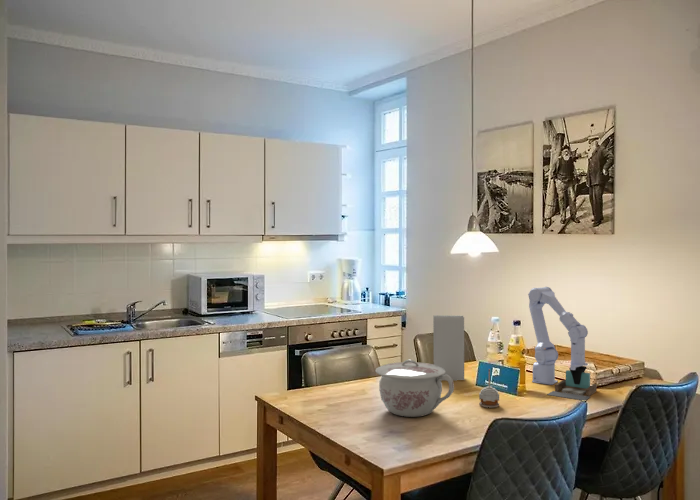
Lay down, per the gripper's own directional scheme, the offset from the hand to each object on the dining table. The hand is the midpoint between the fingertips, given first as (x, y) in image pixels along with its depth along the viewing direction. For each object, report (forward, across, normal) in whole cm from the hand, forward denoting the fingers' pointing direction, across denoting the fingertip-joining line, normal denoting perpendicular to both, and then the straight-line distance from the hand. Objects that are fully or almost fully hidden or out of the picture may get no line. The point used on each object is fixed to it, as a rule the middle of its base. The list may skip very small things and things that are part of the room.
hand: (577, 383), depth 275 cm
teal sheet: (+3, 0, 0) cm, 3 cm away
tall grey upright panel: (+3, -14, +56) cm, 58 cm away
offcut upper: (+3, -5, 0) cm, 6 cm away
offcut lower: (+4, -5, 0) cm, 6 cm away
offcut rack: (+3, -2, 0) cm, 4 cm away
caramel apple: (+3, -46, +21) cm, 50 cm away
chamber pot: (+3, -72, +42) cm, 83 cm away
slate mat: (+3, -12, 0) cm, 13 cm away
